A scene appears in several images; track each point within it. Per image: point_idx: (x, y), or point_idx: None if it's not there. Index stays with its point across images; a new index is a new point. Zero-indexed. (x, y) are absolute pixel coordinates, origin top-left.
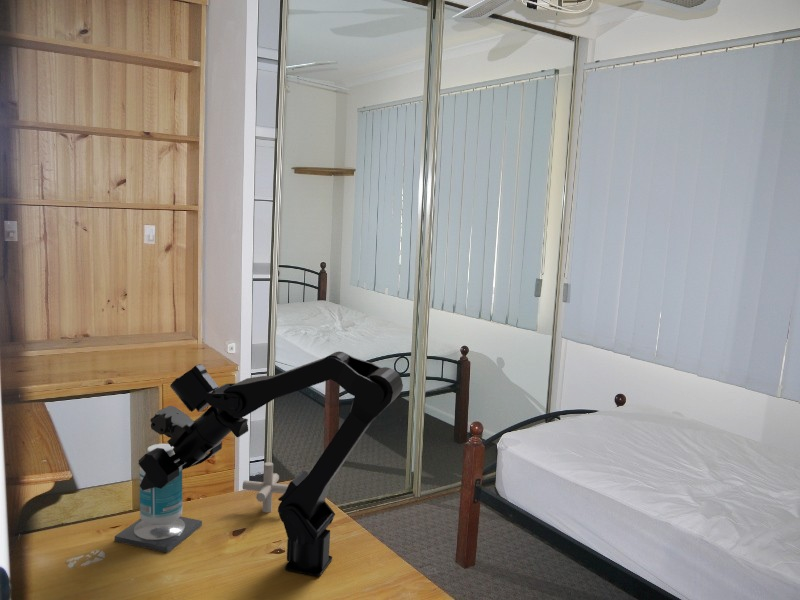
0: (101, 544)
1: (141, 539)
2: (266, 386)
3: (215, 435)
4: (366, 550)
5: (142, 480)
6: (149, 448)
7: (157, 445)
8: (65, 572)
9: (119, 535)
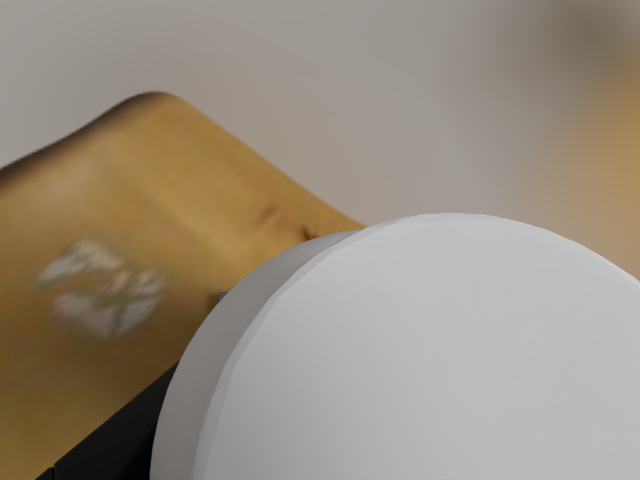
0: (194, 271)
1: None
2: None
3: None
4: None
5: (133, 401)
6: (362, 263)
7: (565, 311)
8: (7, 283)
9: None
